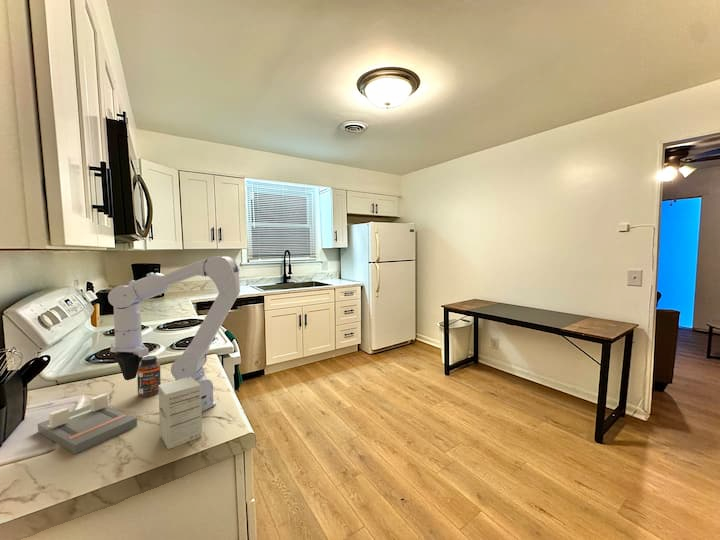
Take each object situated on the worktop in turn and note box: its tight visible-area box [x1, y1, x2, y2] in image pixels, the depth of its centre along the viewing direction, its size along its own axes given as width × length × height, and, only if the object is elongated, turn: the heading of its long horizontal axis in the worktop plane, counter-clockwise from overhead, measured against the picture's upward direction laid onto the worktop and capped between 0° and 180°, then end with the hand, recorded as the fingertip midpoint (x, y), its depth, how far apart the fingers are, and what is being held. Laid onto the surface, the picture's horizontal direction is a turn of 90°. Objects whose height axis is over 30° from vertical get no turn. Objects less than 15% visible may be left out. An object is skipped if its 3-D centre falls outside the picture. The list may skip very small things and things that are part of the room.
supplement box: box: [158, 377, 203, 450], centre depth 70 cm, size 7×7×13 cm
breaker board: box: [37, 404, 138, 455], centre depth 74 cm, size 19×12×2 cm, turn 64°
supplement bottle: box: [136, 355, 162, 398], centre depth 93 cm, size 6×6×11 cm
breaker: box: [48, 407, 70, 428], centre depth 71 cm, size 2×3×3 cm, turn 154°
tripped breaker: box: [89, 393, 109, 411], centre depth 79 cm, size 2×3×3 cm, turn 154°
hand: (130, 378), depth 81 cm, fingers closed
